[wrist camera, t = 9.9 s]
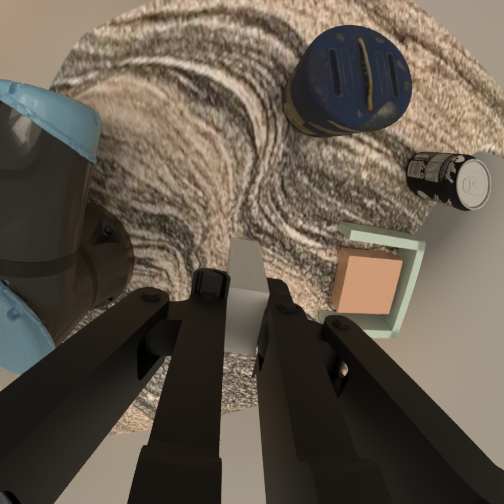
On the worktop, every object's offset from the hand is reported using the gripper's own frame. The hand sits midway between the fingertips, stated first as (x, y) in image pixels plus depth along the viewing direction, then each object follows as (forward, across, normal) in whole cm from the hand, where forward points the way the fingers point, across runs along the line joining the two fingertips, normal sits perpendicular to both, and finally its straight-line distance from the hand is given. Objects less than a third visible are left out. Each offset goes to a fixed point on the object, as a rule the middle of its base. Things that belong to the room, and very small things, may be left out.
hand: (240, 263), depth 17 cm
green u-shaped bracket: (+23, +19, -7) cm, 31 cm away
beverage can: (+23, +24, +9) cm, 35 cm away
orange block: (+23, +19, -7) cm, 31 cm away
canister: (+24, +7, +14) cm, 29 cm away
